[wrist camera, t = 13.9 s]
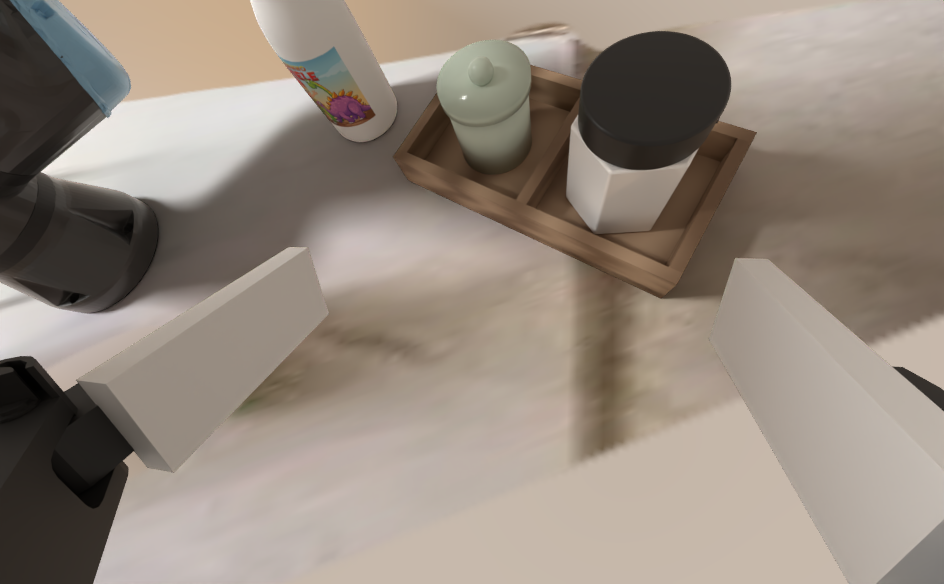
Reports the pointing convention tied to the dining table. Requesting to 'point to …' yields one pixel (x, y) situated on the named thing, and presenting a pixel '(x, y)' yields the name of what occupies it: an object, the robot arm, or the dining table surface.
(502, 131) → the sugar pot
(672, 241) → the caddy
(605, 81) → the jar
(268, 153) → the dining table surface
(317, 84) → the milk bottle
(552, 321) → the dining table surface
